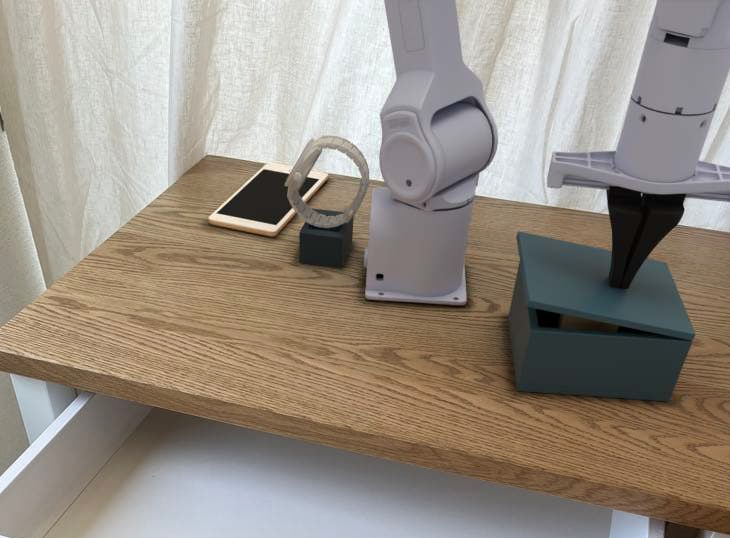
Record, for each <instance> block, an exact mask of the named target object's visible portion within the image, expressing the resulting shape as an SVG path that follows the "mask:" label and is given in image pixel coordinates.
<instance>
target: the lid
mask: <svg viewBox="0 0 730 538" xmlns="http://www.w3.org/2000/svg"><path fill="white" fill-rule="evenodd" d="M516 245H517V250H518V257H519V262H520V264H521V270H522V277H523V283H524V289H525V296H526V302H527V307H531V308H536V309H540V310H545V311H550V312H555V313H560V314H565V315H570V316H575V317H579V318H584V319H589V320H594V321H599V322H604V323H609V324H614V325H618V326H623V327H628V328H633V329H638V330H643V331H648V332H653V333H657V334H662V335H667V336H672V337H677V338H682V339H687V340H692V341H693V340H694V339H695V337H696V336H697V334H696V332H695V329H694V326H693V324H692V321H691V319H690V317H689V314H688V312H687V309H686V307H685V305H684V302H683V300H682V297H681V294H680V292H679V290H678V288H677V285H676V283H675V280H674V278H673V275H672V273H671V270H670V268H669V265H668V263H667V262H666V261H661V260H656V259H653V258H648V257H647V258H646V260H645V261H644V263H643V264H642V266H641V267H640V269H639V270H638V272H637V273H636V275H635V277H634V279H633V281H632V282H631V284H630V287H629V289H623V288H620V286H619V288H614V287H610V284H609V272H610V266H611V257H612V250H610V249H605V248H600V247H595V246H590V245H586V244H581V243H577V242H572V241H568V240H567V241H566V240H563V239H557V238H552V237H548V236H543V235H538V234H533V233H529V232H525V231H524V232H523V231H518V232H517V234H516Z"/></svg>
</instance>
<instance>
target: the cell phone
mask: <svg viewBox="0 0 730 538" xmlns="http://www.w3.org/2000/svg"><path fill="white" fill-rule="evenodd" d="M293 167H294V166H290V165H286V164H285V165H284V164H279V163H274V162H267V163H266V164H264V165H263V166H262V167H261V168H260V169H259V170H258V171H257V172H255V174H253V175H251V177H250V178H249V179H248V180H247V181H246V182H245V183H244V184H243V185H242V186H241V187H239V188H238V189H237V190H236V191H235V192H234V193H232V195H231V196H229V198H227V199H226V200H225V201H224V202H223V203H222V204H221V205H220V206H219V207H218V208H217V209H215V210H214V211H213V212H212V213H211V214H210V215H209V216H208V217H207V219H208V224H210V225H213V226H218V227H221V228H228V229H232V230H238V231H243V232H247V233H252V234H257V235H261V236H262V235H263V236H267V237H275V236H277V235H278V234H279V233H280V232H281V230H282V229H283V228H284V227H286V225H287V224H288V223H289V222H290V221H291V219H293V217H294V216H296V215H297V213H296V212H295V211H294V209H293V208H292V205H291V204H290V202H289V199H288V197H287V194H288V186H287V187H286V186H285V182H286V180H287V178H288V176H289V174H290V172H291V171H292V169H293ZM328 180H329V173H327V172H323V171H318V170H312V169H311V171H310V173H309V174H308V176H307V178H306V179H305V181H304V183H303V184H302V186H301V188H300V189H299V190H298V192H299V195H300V196H301V198H302V199H303V201H304V203H306V204H307V202H308V201H310V199H311V198H312V197H313V196H314V195H315V193H316V192H317V191H318V190H319V189H320V188H321V187H322V186H323V185H324V184H325V183H326V181H328Z"/></svg>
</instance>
